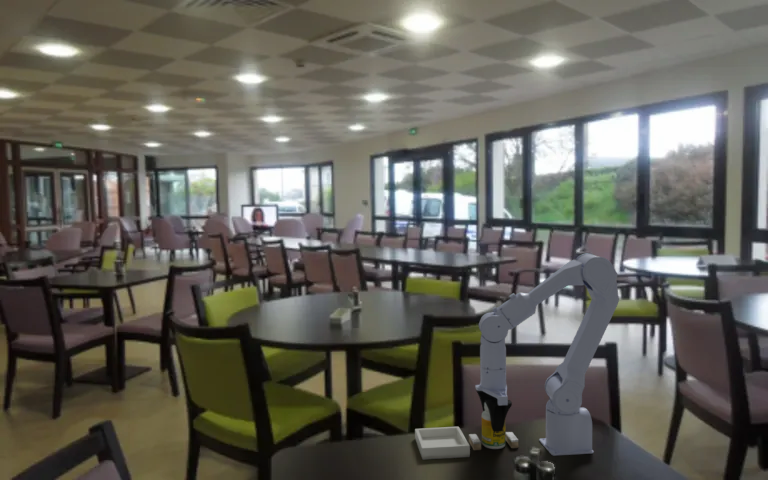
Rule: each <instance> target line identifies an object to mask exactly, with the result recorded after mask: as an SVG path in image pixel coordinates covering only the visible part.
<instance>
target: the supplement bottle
mask: <svg viewBox="0 0 768 480" xmlns="http://www.w3.org/2000/svg"><path fill="white" fill-rule="evenodd" d="M484 409H485V411H483V410H482V413H481V445H482V446H484V447H485V448H486V449H490V450H500V449H503V448H504V447H505V446H506V442H507V441H506V432H507V431H506V418H505V422H504V427H503V430H502V431H495V432H494V431H493V430H492V426H491V419H490V414H489V410H488V407H487V405H486V403H484Z"/></svg>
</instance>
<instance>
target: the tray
mask: <svg viewBox="0 0 768 480" xmlns="http://www.w3.org/2000/svg"><path fill="white" fill-rule="evenodd" d="M414 439H415V443H416V446H417V448H418V451H419V453H420V454H419V455H420V456H421V459H422V460H436V459H437V460H438V459H454V458H455V459H457V458H470V454H471V450H470V449H471V444H470V443H469V441H467V439H466V437H465V435H464V433H463V431H462V430H461V428H460V427H459V426H445V427H444V426H443V427H426V428H425V427H424V428H415V429H414Z"/></svg>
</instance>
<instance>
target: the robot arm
mask: <svg viewBox="0 0 768 480" xmlns="http://www.w3.org/2000/svg"><path fill="white" fill-rule="evenodd" d="M618 275H619V274H618V272H617V271H616V269H615V267H614V265H613V264H612V262H611V261H610V260H609V259H608V258H606V257H603V256H598V255H595V254H593V253H590V252H588V253H587V252H586V253H583V254H580V255H578V256H576V258H575V259H572V260H570V261H568V262H566V264H564V265H562V266H561V267H560V268H559V269H558V270H556V271H555V272H553V273H552V274H550V276H548V277H546V279H544V280H543V281H542V282H540V283H539V284H538V285H537V286H535V287H534V288H533V289H531V290H530V291H528V292H522V291H521V292H520V291H519V292H517V293H516V294H515V293H514V292H513V293H511V294H510V295H509V296H508V297H509V299H508V300H506V301H504V302H503V303H502V304H500V305H499V306H497V307H496V306H494V307H492V308H491V311H490V312H486V313H484V314H483V315H482V316H481V318H480V320H479V323H478V328H479V331H480V332H481V334H480V345H479V359H480V360H479V362H480V364H479V365H480V370H479V372H480V375H479V377H480V382H479V384H475V387H474V388H475V391H476V393H477V395H478V398H479V401H480V403H481V408H482V412H483V411H485V409H484V403H486V405H487V407H488V410H489V414H490V419H491V426H492V430H493V431H494V432H495V431H502V430H503V427H504V422H505V423H506V420H505V419H506V417H507V415H508V412H509V410H510V409H511V407H512V406H513V402H512V401H511V400H510V399H509V398H508V385H507V347H506V338H507V336H508V333H509V331H510V330H513V329H514V328H516V327H517V326H519V325H520V324H522V323H523V322H525V321H526V320H527V319H529V318H531V317H532V316H533V315H535V314H536V309H537V306H538V305H539V304H541V303H542V302H544V301H545V300H548V299H549V298H551V297H552V296H554V295H555V294H556V293H558V292H560V291H561V290H563V289H565V288H567V287H571V286H585V288H586V289H587V292H588V295H589V296H590V298H591V300H590V302H589V305H588V306H587V308H586V311H585V314H584V316H583V317H582V320H581V322H580V325H579V326H578V329H577V331H576V333H575V335H574V337H573V340H572V342H571V344H570V346H569V348H568V350H567V353H566V354H565V356H564V358H563V361H562V363H560V364H559V365H557V366H556V368H555V371H554V372H553V373H552V374H551V375H550V376H548V377H547V379H546V380H545V381H544V382H545V383H544V390H545V393H546V394H547V397H549V399H548V400H547V402H546V404H545V438H539V439H538V441H539V442H540V444H541V445H542V446H543V447H544V448H545V449H546V450H547V451H548V453H549V454H550V455H551V456H569V455H570V456H573V455H586V454H587V455H589V454H594V452H595V451H594V450H593V421H592V416H591V413H590V411H589V410H588V409H587V408H586V407H583V406H582V404H583V396H582V395H583V392H584V389H585V385H586V380H585V379H586V373H587V371H588V369H589V367H590V364H591V363H592V360H593V358H594V356H595V354H596V352H597V349H598V348H599V345H600V343H601V341H602V338H603V336H604V335H605V332H606V330H607V328H608V326H609V323H610V322H611V319H612V317H613V315H614V313H615V311H616V309H617V307H618V304H619V302H620V299H619V291H618V283H617V282H618V281H617V279H618ZM581 406H582V407H581Z"/></svg>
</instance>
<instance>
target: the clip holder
mask: <svg viewBox="0 0 768 480" xmlns="http://www.w3.org/2000/svg"><path fill="white" fill-rule="evenodd" d="M506 442H507V444H508V445H509V447H510V448H511V449H517V448H518V449H519V438H517V436H516V435H515V434H514V432H513V431H506ZM468 443H469V445H470V447H471V448H472V450H473V451H481V450H482V440H480V438H479V436H478V435H477V434H476V433H470V434H468Z"/></svg>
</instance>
